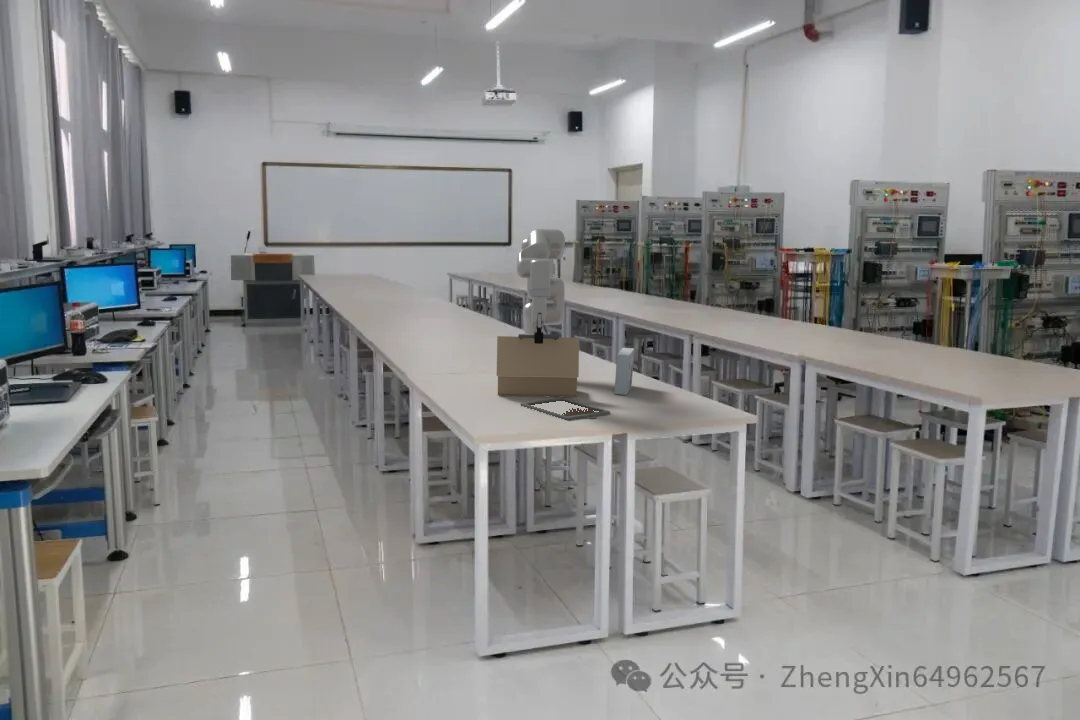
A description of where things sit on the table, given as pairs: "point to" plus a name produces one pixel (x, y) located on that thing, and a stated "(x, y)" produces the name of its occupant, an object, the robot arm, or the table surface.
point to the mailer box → (537, 386)
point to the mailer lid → (537, 356)
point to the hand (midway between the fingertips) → (538, 342)
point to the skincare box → (624, 371)
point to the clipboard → (569, 415)
